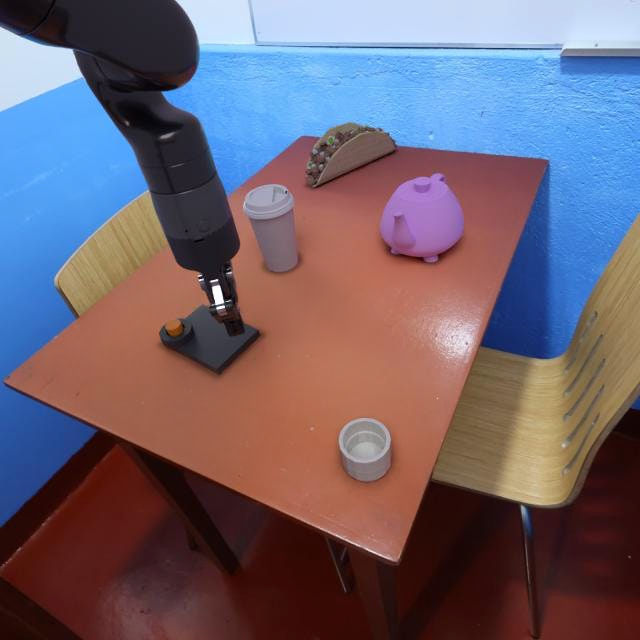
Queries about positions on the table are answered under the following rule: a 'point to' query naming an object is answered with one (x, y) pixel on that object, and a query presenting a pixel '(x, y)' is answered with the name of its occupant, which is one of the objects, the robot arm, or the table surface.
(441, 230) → the teapot
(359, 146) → the taco
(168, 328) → the button
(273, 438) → the table surface
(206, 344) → the dark grey flat slab
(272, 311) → the table surface
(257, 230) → the coffee cup
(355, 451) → the white round cup
